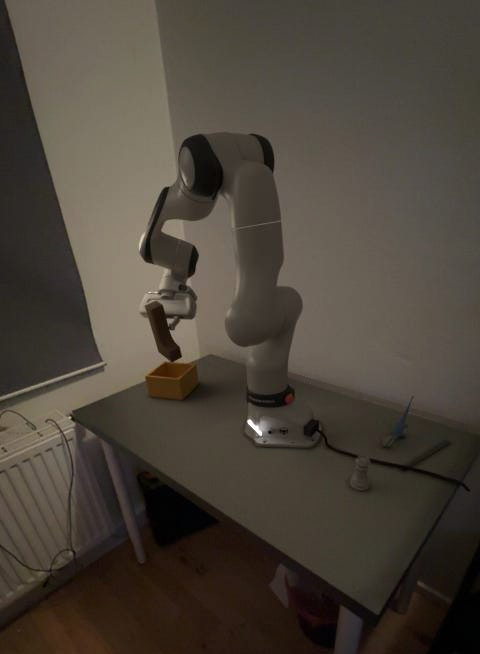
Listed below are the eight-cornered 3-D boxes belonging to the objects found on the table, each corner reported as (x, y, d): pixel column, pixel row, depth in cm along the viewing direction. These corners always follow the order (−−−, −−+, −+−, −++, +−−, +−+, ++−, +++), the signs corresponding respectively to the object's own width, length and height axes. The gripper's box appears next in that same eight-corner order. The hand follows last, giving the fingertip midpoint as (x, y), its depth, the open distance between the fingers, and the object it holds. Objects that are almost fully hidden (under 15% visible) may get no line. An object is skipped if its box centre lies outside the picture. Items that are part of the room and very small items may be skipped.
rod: (448, 444, 93) (449, 442, 92) (403, 472, 84) (404, 470, 84) (446, 443, 93) (447, 440, 93) (400, 471, 85) (401, 468, 85)
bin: (198, 383, 133) (196, 364, 129) (182, 400, 122) (178, 379, 118) (167, 380, 137) (164, 361, 133) (149, 396, 127) (144, 376, 122)
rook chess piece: (365, 478, 83) (370, 451, 79) (372, 491, 79) (377, 463, 75) (346, 479, 83) (350, 452, 79) (352, 492, 79) (356, 465, 75)
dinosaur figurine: (389, 446, 99) (378, 444, 91) (410, 396, 96) (401, 390, 89) (399, 450, 97) (389, 449, 90) (421, 399, 95) (412, 394, 87)
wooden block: (182, 357, 120) (170, 309, 107) (171, 363, 118) (158, 315, 105) (169, 347, 125) (155, 299, 112) (158, 352, 123) (143, 305, 110)
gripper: (140, 286, 119) (131, 323, 117) (194, 286, 113) (185, 325, 111) (150, 296, 125) (141, 332, 123) (201, 297, 119) (193, 335, 117)
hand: (162, 329), depth 117 cm, fingers closed on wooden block, 5 cm apart
